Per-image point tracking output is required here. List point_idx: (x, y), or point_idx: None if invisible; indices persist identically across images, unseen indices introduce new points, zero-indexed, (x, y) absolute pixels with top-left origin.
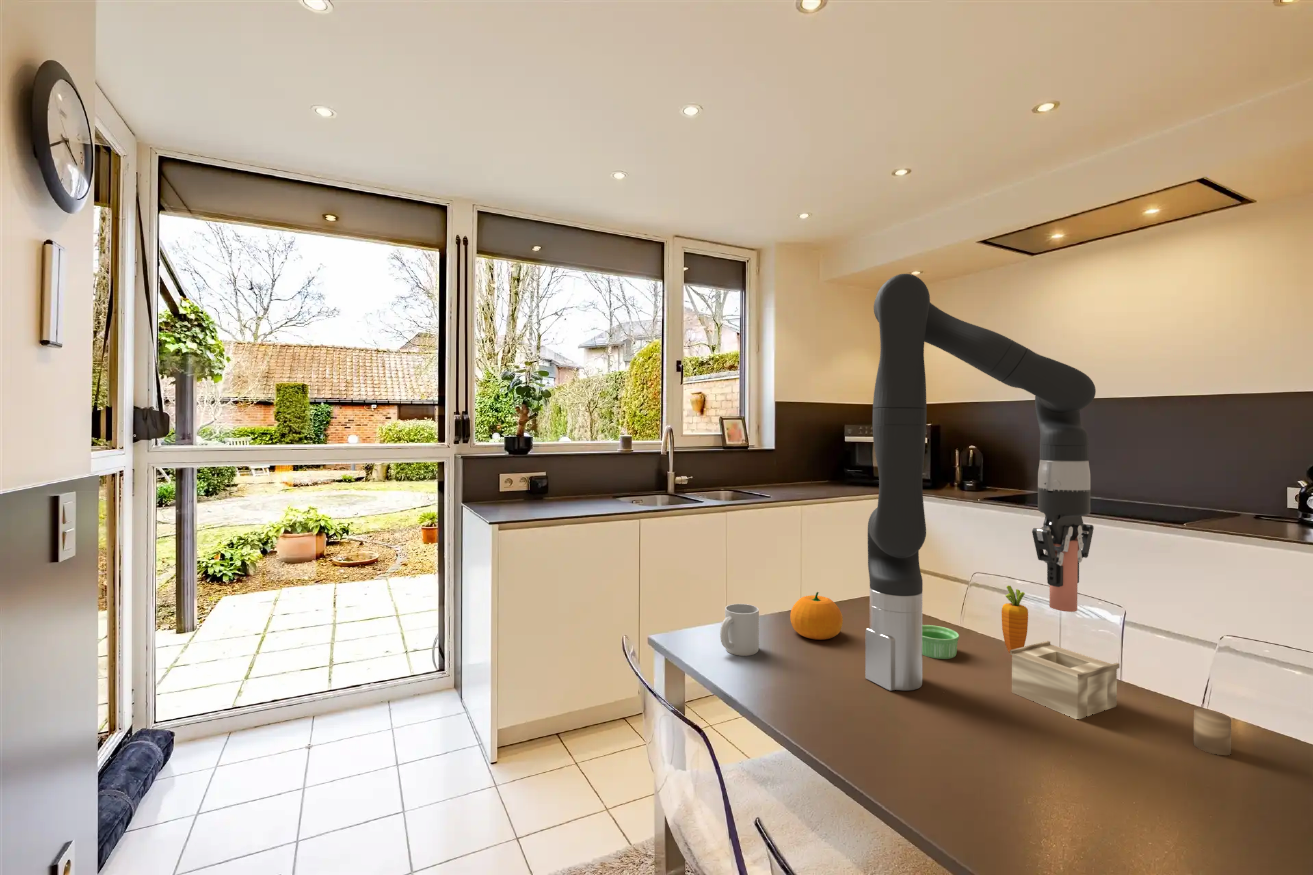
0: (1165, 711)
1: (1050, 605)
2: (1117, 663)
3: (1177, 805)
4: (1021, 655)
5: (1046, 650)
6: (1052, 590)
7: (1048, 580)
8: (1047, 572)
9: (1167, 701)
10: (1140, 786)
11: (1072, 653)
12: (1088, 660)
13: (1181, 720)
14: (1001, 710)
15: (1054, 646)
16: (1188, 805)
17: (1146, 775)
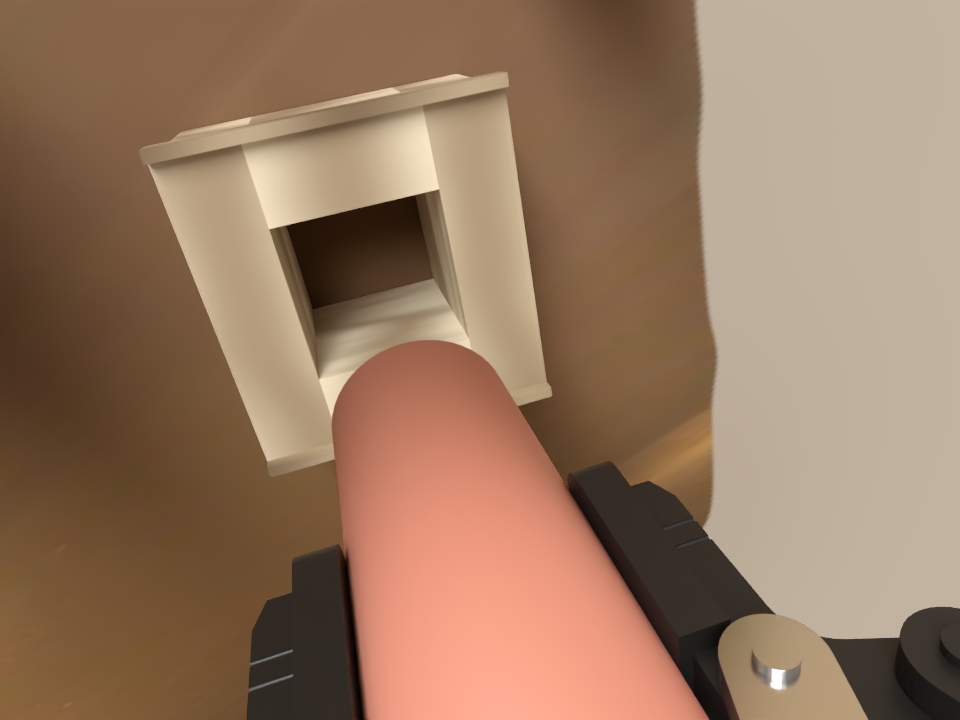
0: (608, 365)
1: (340, 402)
2: (544, 394)
3: (166, 708)
4: (188, 199)
5: (397, 166)
6: (343, 507)
7: (259, 629)
8: (248, 705)
9: (687, 312)
10: (143, 658)
11: (494, 230)
12: (485, 317)
13: (589, 414)
14: (7, 271)
15: (495, 122)
16: (192, 707)
17: (204, 624)
